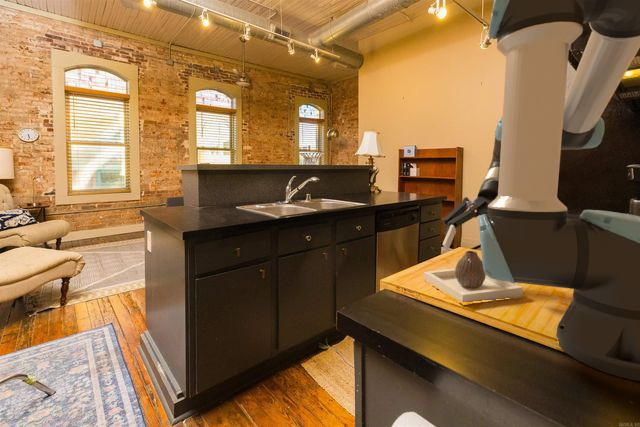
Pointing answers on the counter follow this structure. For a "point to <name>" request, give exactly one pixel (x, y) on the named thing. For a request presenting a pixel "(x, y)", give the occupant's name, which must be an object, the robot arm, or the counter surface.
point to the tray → (486, 291)
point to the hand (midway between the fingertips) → (471, 252)
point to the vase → (470, 271)
